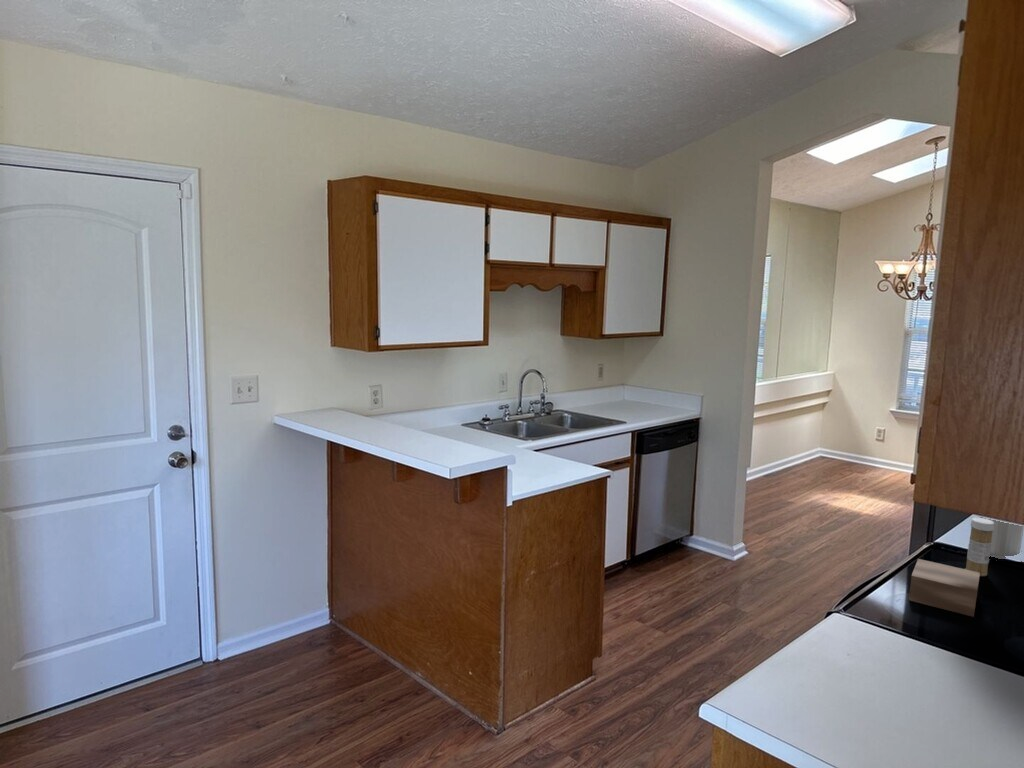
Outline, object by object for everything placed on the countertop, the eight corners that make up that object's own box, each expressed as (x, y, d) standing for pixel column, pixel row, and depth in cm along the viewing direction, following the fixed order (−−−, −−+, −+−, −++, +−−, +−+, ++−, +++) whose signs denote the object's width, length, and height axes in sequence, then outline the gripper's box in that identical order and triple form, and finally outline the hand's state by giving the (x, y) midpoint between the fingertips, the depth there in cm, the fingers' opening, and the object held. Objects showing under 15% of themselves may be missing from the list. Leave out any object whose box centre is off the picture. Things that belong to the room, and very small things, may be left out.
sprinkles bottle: (975, 568, 169) (982, 516, 167) (992, 576, 164) (999, 522, 162) (960, 570, 168) (967, 517, 166) (976, 577, 163) (984, 524, 161)
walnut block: (915, 582, 160) (918, 558, 159) (976, 597, 153) (979, 572, 152) (908, 601, 151) (911, 575, 150) (973, 618, 144) (977, 591, 143)
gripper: (1029, 407, 150) (1018, 484, 153) (938, 396, 162) (930, 468, 165) (1023, 411, 145) (1012, 491, 147) (930, 400, 157) (921, 474, 160)
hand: (969, 478), depth 156 cm, fingers closed on syrup box, 8 cm apart
